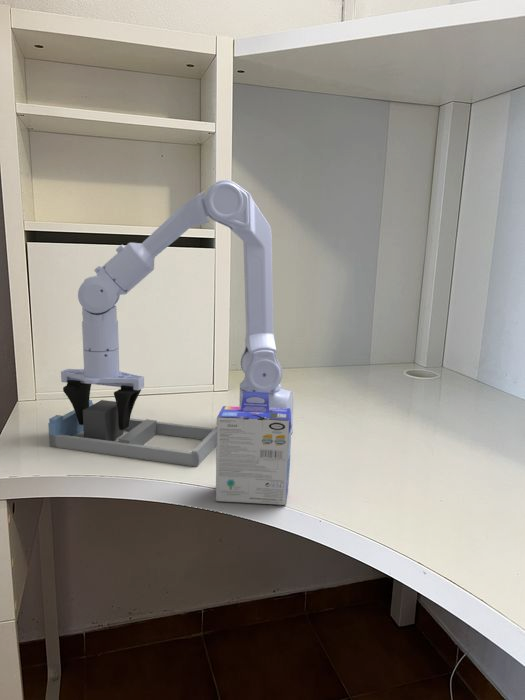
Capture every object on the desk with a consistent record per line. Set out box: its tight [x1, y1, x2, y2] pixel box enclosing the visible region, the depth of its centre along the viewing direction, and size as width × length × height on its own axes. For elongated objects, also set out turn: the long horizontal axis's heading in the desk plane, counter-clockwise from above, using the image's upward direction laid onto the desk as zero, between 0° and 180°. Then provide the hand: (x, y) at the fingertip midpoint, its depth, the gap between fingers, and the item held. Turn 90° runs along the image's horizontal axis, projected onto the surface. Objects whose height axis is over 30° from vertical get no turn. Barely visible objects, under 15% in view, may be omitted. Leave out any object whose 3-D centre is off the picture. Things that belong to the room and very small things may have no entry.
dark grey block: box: [83, 399, 124, 442], centre depth 94 cm, size 4×6×6 cm, turn 166°
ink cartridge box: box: [215, 391, 292, 506], centre depth 75 cm, size 10×6×14 cm, turn 86°
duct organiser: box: [48, 399, 217, 468], centre depth 93 cm, size 26×12×5 cm, turn 75°
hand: (103, 425), depth 94 cm, fingers open, 7 cm apart
